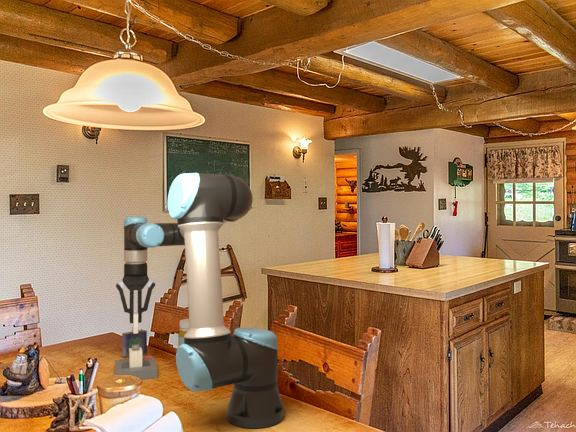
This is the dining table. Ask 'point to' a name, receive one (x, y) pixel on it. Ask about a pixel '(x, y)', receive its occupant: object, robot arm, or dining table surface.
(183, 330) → the bottle
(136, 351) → the cream rectangular container
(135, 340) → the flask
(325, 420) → the dining table surface
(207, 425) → the dining table surface
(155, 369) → the socket
